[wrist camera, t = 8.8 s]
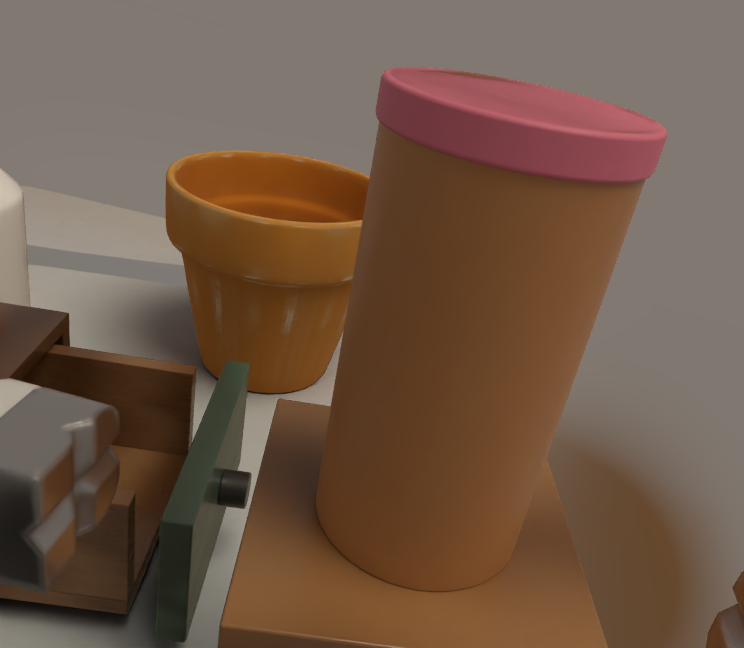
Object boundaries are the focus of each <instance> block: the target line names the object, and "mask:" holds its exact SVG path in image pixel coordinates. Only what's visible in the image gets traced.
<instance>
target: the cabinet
mask: <svg viewBox="0 0 744 648" xmlns="http://www.w3.org/2000/svg"><path fill="white" fill-rule="evenodd" d="M53 344H56V345H63V346H69V347H70V337H69V313H65V312H59V311H53V310H46V309H40V308H34V307H27V306H21V305H15V304H8V303H2V302H0V380H1V379H7V378H11V379H15V380H18V381H21V380H22V379H23V378H24V377H25V376H26V374H27V373H28V372H29V371H30V370H31V369H32V368H33V367H34V365H35V364H36V363H37V362H38V361H39V360H40V359H41V358H42V357H43V355H44V354H45V353H46V352H47V351H48V350H49V349H50V348H51V346H52V345H53Z"/></svg>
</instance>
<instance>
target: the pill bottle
mask: <svg viewBox="0 0 744 648" xmlns="http://www.w3.org/2000/svg"><path fill="white" fill-rule="evenodd" d="M0 302H2V303H8V304H15V305H21V306H27V307H31V306H30V290H29V274H28V259H27V242H26V226H25V210H24V196H23V191H22V189H21V187H20V185H19V184H18V183H17V182H16V181H15V180H14V179H13V178H12V177H10V176H9V175H8V174H7V173H6V172H4V171H3V170H2V169H1V168H0Z"/></svg>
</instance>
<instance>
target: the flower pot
mask: <svg viewBox="0 0 744 648" xmlns="http://www.w3.org/2000/svg"><path fill="white" fill-rule="evenodd" d="M369 179H370V177H369V176H367V175H364V174H362V173H360V172H357V171H354V170H352V169H349V168H346V167H343V166H340V165H336V164H333V163H329V162H325V161H321V160H317V159H312V158H307V157H302V156H295V155H289V154H282V153H273V152H262V151H215V152H206V153H199V154H194V155H190V156H187V157H184V158H182V159H180V160H178V161H176V162H174V163H173V164H172V165H171V166H170V167H169V168H168V170H167V173H166V229H167V234H168V237H169V239H170V241H171V242H172V244H173V245H174V246H175V247H176V248H177V249H178V250H179V251H180V252H181V253H182V257H183V262H184V268H185V273H186V279H187V286H188V291H189V297H190V303H191V308H192V313H193V318H194V323H195V328H196V333H197V339H198V344H199V350H200V354H201V358H202V361H203V363H204V365H205V367H206V368H207V369H208V370H209V371H210V372H211V373H212V374H213V375H214V376H215V377H216V378H218V379H219V377H220V375H221V373H222V370H223V368H224V365H225V363H226V361H227V360H229V361H236V362H242V363H248V364H249V365H250V369H249V379H248V388H247V391H253V392H260V393H285V392H292V391H297V390H300V389H303V388H306V387H308V386H310V385H312V384H313V383H315V382H316V381H317V380H318V379H319V378H320V377H321V376H322V375H323V374H324V373H325V371H326V369H327V366H328V364H329V362H330V360H331V358H332V355H333V353H334V351H335V349H336V346H337V344H338V342H339V340H340V337H341V335H342V332H343V330H344V326H345V320H346V315H347V309H348V303H349V297H350V291H351V285H352V279H353V273H354V267H355V262H356V256H357V250H358V244H359V238H360V232H361V226H362V220H363V214H364V209H365V203H366V197H367V191H368V185H369Z"/></svg>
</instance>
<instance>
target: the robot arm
mask: <svg viewBox="0 0 744 648" xmlns="http://www.w3.org/2000/svg"><path fill="white" fill-rule="evenodd" d="M119 434H120V416H119V411H118V410H117V409H116V408H115V407H114V406H112V405H108V404H105V403H101V402H97V401H94V400H90V399H86V398H83V397H79V396H76V395H72V394H68V393H65V392H61V391H57V390H54V389H50V388H46V387H43V388H42V387H40V386H37V385H34V384H30V383H26V382H22V381H18V380H15V379H11V378H7V379H1V380H0V583H3V584H7V585H11V586H15V587H19V588H23V589H28V590H32V591H36V592H40V593H44V594H46V593H47V591H48V590H49V589H50V587H51V586H52V585H53V584H54V582H55V581H56V580H57V578H58V577H59V576H60V574H61V573H62V572H63V571H64V569H65V568H66V567H67V565H68V564H69V563H70V561H71V560H72V559H73V558H74V556H75V555H76V537H78V536H81V535H83V534H85V533H87V532H90V531H92V530H94V529H96V527H97V526H98V525H99V523H100V522H101V520H102V519H103V518H104V516H105V515H106V514H107V512H108V510H109V507H110V505H111V503H112V500H113V498H114V496H115V494H116V491H117V486H118V481H119V476H120V459H119V458H118V456H117V455H116V453H115V452H114V450H113V449H112V447H111V446H110V444H111V443H112V442H113V441H114V440H115V438H116V437H117V436H118V435H119ZM733 590H734V593H735V596H736V599H737V602H738V604H736V605H734V606H732V607H729V608H727V609H725V610H723V611H721V612H719V613H718V614H717V616H716V618H715V620H714V622H713V624H712V626H711V628H710V630H709V632H708V637H707V644H706V648H744V571H743V572H742V573H741V574H740V576H739V578H738V580H737V581H736V583H735V585H734V586H733Z"/></svg>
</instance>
